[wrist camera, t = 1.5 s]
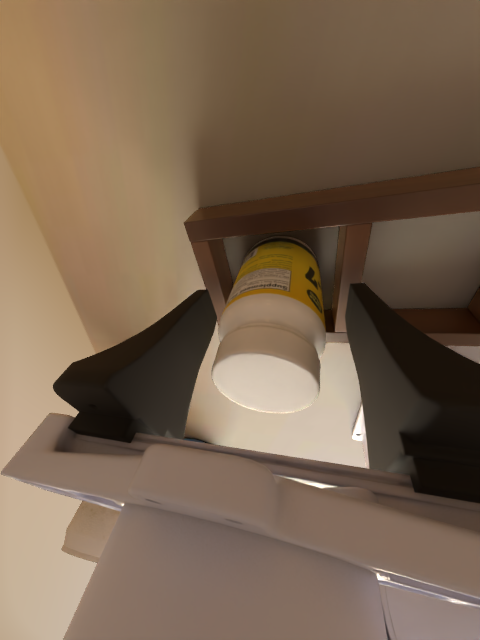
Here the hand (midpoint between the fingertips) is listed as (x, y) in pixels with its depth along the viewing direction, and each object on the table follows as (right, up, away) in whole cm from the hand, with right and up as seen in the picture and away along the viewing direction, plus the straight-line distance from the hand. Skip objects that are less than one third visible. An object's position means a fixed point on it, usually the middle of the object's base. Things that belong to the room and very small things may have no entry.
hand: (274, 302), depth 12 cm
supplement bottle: (+1, +2, +3) cm, 3 cm away
